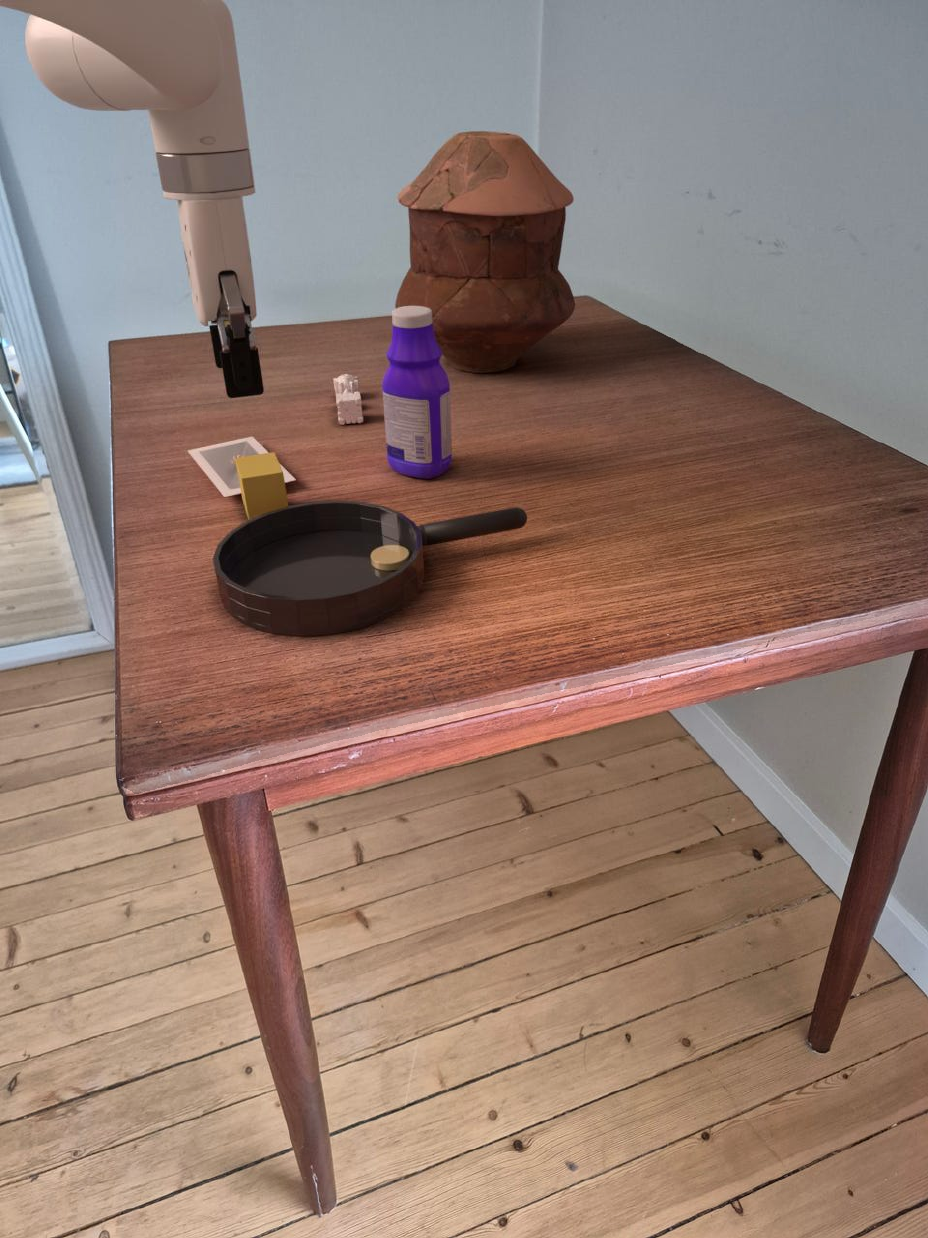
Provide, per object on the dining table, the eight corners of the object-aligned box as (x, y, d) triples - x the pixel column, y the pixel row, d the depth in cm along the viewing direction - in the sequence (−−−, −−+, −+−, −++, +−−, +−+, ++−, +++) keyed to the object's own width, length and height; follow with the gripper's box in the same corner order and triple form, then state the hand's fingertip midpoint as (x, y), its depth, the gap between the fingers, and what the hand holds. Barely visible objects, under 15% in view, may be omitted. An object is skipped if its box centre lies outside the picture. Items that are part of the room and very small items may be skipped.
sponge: (250, 530, 89) (241, 478, 86) (244, 508, 93) (234, 457, 90) (291, 523, 90) (283, 471, 87) (282, 501, 94) (274, 451, 91)
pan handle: (416, 551, 81) (415, 532, 79) (410, 542, 82) (409, 522, 81) (530, 530, 83) (530, 510, 82) (522, 521, 85) (522, 502, 84)
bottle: (462, 467, 100) (456, 306, 91) (433, 485, 96) (424, 320, 87) (408, 455, 104) (398, 299, 94) (379, 472, 100) (365, 312, 90)
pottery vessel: (383, 348, 140) (366, 130, 124) (538, 331, 145) (541, 120, 129) (420, 400, 119) (405, 146, 103) (600, 378, 124) (612, 133, 108)
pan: (233, 655, 71) (225, 618, 69) (211, 553, 85) (204, 520, 83) (450, 610, 75) (448, 573, 73) (394, 520, 90) (392, 488, 88)
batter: (376, 574, 79) (376, 566, 79) (367, 556, 82) (366, 548, 82) (414, 566, 80) (414, 558, 80) (403, 549, 83) (403, 541, 83)
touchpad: (226, 506, 94) (222, 487, 92) (189, 459, 105) (185, 441, 103) (297, 489, 97) (294, 470, 95) (253, 445, 108) (250, 427, 107)
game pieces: (364, 423, 113) (362, 398, 111) (338, 426, 112) (335, 401, 110) (359, 393, 123) (357, 369, 121) (335, 394, 122) (332, 371, 120)
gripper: (155, 168, 80) (190, 360, 89) (165, 189, 66) (206, 414, 75) (240, 164, 82) (266, 352, 91) (267, 183, 68) (295, 402, 77)
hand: (239, 380), depth 83 cm, fingers open, 9 cm apart
